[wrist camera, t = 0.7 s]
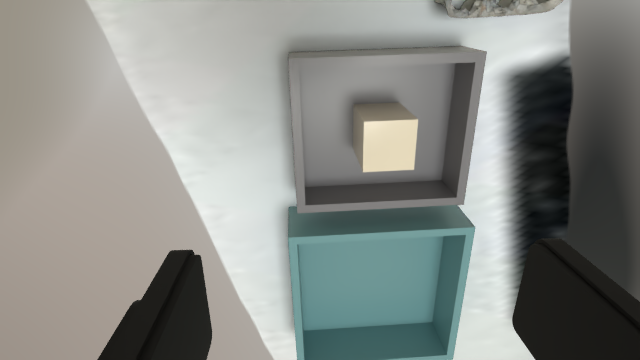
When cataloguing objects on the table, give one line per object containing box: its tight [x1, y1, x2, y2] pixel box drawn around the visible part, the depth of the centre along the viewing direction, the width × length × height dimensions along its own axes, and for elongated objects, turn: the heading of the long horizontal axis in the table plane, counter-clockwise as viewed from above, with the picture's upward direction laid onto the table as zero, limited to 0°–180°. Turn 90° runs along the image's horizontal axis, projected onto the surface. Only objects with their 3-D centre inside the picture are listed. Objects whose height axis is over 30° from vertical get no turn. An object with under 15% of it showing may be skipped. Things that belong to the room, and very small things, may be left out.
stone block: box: [353, 103, 418, 172], centre depth 34 cm, size 4×4×6 cm
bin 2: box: [288, 205, 475, 360], centre depth 42 cm, size 18×18×6 cm
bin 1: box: [288, 46, 487, 213], centre depth 35 cm, size 14×16×5 cm
